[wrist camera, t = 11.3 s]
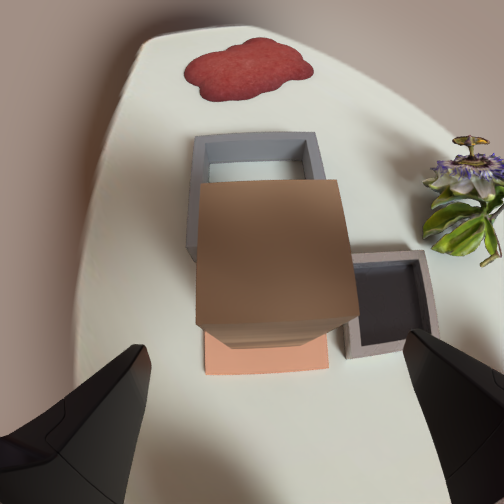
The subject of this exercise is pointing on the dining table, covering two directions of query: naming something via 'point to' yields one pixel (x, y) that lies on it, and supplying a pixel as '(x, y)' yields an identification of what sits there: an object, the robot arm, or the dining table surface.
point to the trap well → (390, 302)
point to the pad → (264, 358)
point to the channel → (246, 150)
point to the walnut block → (273, 262)
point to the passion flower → (465, 187)
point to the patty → (246, 70)
